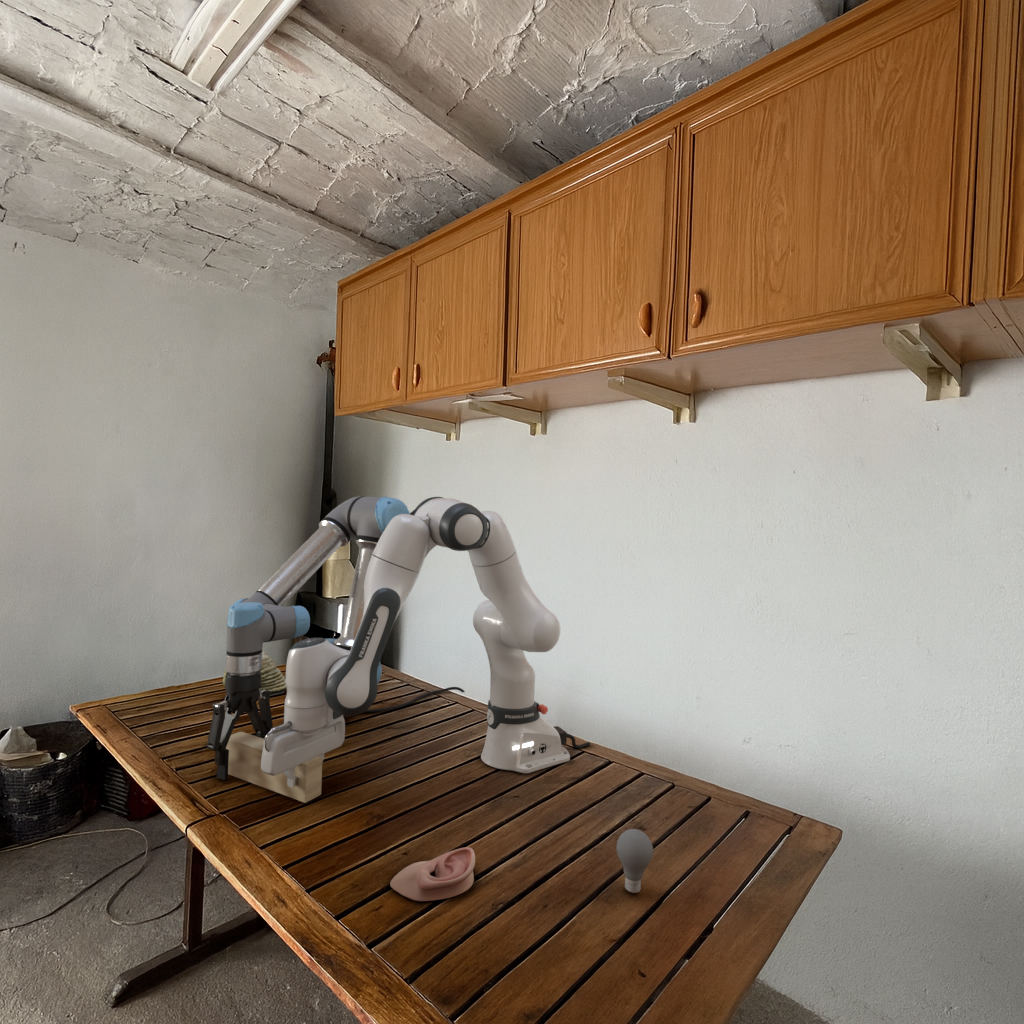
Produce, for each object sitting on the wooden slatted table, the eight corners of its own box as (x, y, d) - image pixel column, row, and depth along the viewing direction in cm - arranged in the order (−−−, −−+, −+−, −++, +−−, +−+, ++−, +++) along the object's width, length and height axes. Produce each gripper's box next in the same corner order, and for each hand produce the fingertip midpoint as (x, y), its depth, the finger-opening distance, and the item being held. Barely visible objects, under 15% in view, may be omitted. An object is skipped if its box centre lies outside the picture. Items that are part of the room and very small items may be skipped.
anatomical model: (383, 870, 101) (409, 834, 113) (382, 895, 101) (408, 856, 113) (463, 884, 99) (481, 845, 110) (461, 909, 99) (480, 868, 110)
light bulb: (610, 879, 108) (613, 822, 108) (644, 879, 109) (647, 822, 109) (619, 902, 102) (622, 840, 102) (655, 901, 103) (658, 840, 103)
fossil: (218, 695, 195) (220, 647, 195) (278, 685, 208) (279, 640, 207) (228, 703, 189) (230, 653, 188) (289, 692, 201) (290, 645, 201)
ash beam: (222, 772, 143) (223, 737, 143) (239, 765, 147) (240, 731, 147) (305, 803, 131) (306, 764, 131) (321, 794, 135) (322, 757, 135)
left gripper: (212, 685, 132) (208, 793, 133) (292, 664, 151) (288, 759, 151) (189, 679, 136) (186, 784, 136) (270, 659, 155) (266, 751, 155)
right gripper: (276, 733, 123) (274, 804, 124) (350, 705, 141) (348, 767, 142) (254, 727, 126) (252, 795, 127) (329, 700, 144) (327, 760, 145)
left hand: (239, 770), depth 144 cm, fingers open, 8 cm apart
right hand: (303, 780), depth 134 cm, fingers closed on ash beam, 4 cm apart
